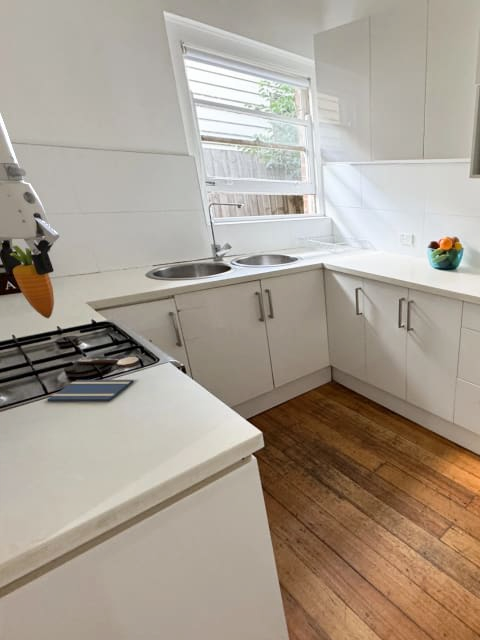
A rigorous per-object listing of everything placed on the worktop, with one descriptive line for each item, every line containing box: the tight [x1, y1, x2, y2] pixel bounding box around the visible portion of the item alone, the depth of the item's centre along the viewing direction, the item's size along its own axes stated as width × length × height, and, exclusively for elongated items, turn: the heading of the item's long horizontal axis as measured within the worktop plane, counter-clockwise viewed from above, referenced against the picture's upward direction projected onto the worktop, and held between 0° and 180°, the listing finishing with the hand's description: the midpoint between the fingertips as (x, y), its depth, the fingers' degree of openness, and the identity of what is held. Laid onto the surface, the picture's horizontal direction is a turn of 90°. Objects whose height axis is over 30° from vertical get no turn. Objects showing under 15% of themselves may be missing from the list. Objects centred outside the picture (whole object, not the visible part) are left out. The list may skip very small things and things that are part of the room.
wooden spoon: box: [77, 356, 140, 369], centre depth 93 cm, size 14×4×1 cm, turn 93°
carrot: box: [10, 245, 55, 319], centre depth 77 cm, size 5×5×15 cm
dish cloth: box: [46, 379, 134, 402], centre depth 81 cm, size 12×8×1 cm, turn 93°
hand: (30, 272), depth 76 cm, fingers closed on carrot, 5 cm apart
